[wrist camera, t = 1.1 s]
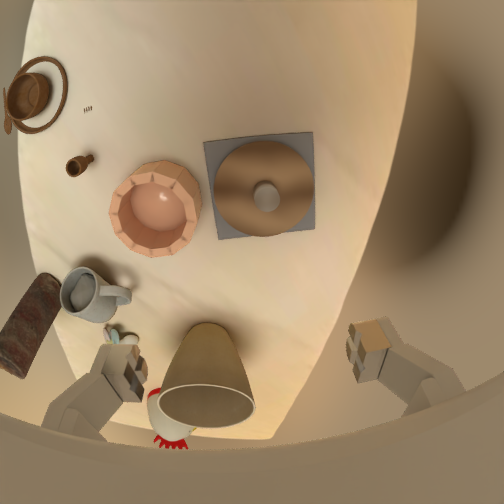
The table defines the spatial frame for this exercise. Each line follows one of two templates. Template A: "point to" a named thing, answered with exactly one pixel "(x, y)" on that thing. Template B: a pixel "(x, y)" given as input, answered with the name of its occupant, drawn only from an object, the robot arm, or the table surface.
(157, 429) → the kitchen timer
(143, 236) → the bowl
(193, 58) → the table surface
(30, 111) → the place setting
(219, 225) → the mat
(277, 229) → the lid
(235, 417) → the plant pot
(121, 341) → the pacifier
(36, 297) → the brown textured cylinder
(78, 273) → the ceramic mug
